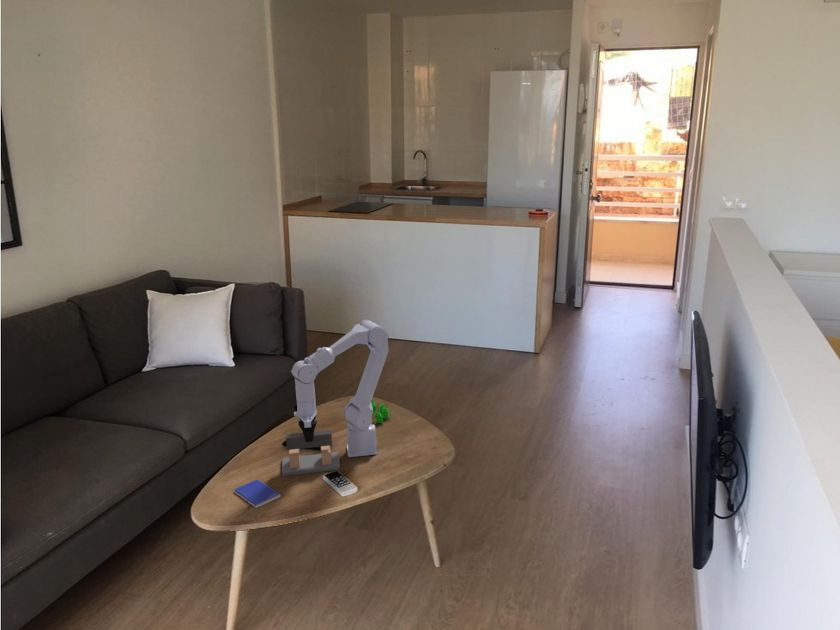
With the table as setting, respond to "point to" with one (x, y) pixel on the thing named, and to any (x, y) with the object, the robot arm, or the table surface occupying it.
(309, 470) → the display stand
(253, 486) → the hard drive
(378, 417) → the green bumpy cluster
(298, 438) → the dark gray bar
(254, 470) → the table surface
